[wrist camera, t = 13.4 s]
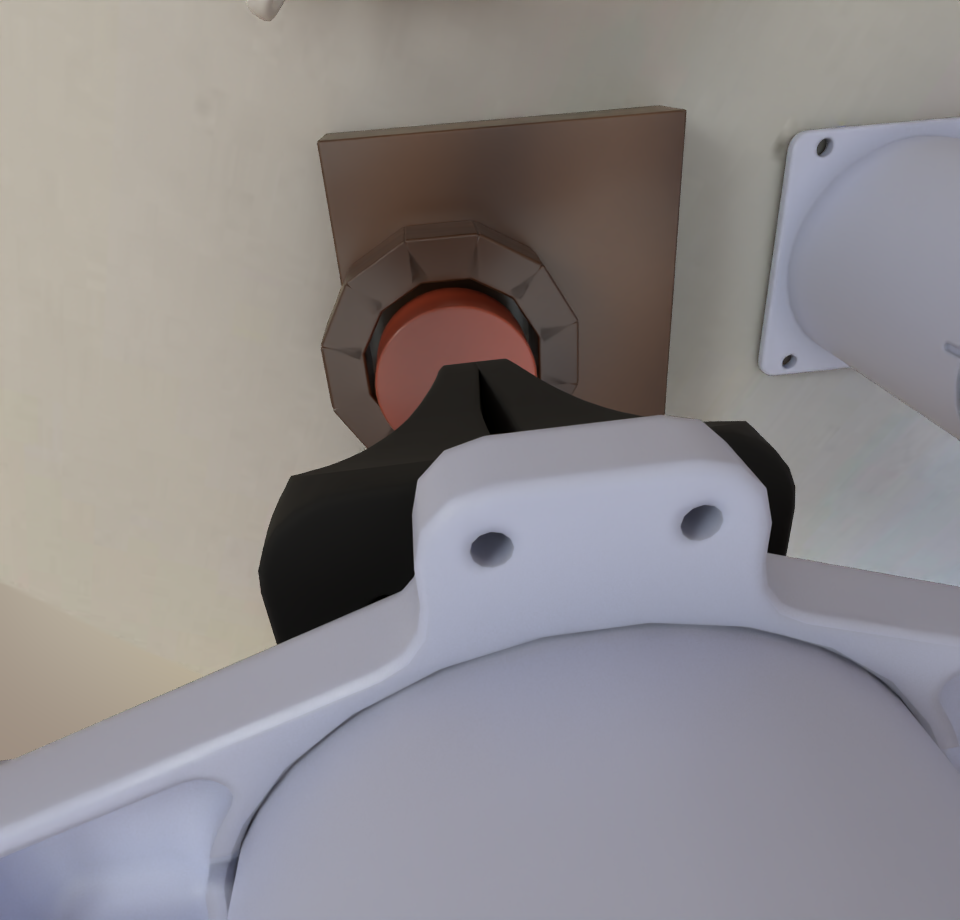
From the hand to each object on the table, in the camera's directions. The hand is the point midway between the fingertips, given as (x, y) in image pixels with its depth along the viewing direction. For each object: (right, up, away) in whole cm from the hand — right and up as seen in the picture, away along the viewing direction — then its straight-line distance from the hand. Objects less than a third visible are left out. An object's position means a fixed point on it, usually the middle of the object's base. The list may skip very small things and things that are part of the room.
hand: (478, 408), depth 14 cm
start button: (-1, +2, +7) cm, 7 cm away
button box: (+1, +4, +10) cm, 10 cm away
